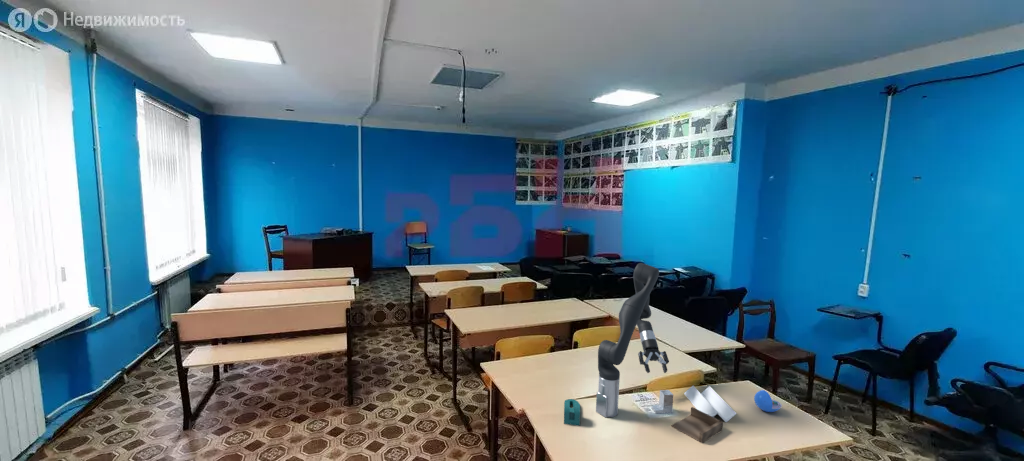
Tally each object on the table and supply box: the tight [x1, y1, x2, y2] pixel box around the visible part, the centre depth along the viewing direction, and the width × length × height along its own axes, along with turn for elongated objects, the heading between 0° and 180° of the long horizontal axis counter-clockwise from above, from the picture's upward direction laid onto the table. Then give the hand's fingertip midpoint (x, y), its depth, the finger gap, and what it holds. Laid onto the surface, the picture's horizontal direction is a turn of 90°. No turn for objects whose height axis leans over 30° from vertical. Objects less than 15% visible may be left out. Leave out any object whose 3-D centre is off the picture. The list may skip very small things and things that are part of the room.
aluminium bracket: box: [651, 389, 674, 415], centre depth 187 cm, size 8×4×9 cm, turn 95°
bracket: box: [563, 398, 581, 426], centre depth 183 cm, size 18×7×8 cm, turn 172°
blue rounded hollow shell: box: [753, 389, 783, 413], centre depth 190 cm, size 10×12×10 cm
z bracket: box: [683, 385, 737, 423], centre depth 192 cm, size 12×25×6 cm
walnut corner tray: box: [670, 406, 724, 444], centre depth 174 cm, size 16×14×4 cm
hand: (657, 372), depth 196 cm, fingers open, 8 cm apart
